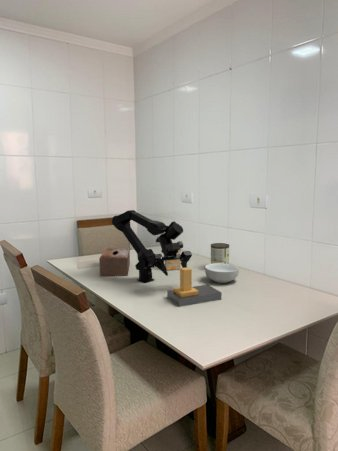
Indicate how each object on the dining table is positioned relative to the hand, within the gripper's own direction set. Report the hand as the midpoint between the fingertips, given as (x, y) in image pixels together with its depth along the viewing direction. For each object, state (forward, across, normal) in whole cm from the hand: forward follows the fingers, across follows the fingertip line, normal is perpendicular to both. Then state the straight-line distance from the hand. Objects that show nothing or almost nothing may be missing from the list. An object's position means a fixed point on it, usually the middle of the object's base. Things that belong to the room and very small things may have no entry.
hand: (176, 274), depth 157 cm
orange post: (+12, 0, 0) cm, 12 cm away
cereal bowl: (+1, +28, +12) cm, 31 cm away
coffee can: (-12, +38, +25) cm, 47 cm away
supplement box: (-20, +15, +34) cm, 42 cm away
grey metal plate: (+12, +4, 0) cm, 13 cm away
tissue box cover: (-28, -15, +42) cm, 53 cm away
